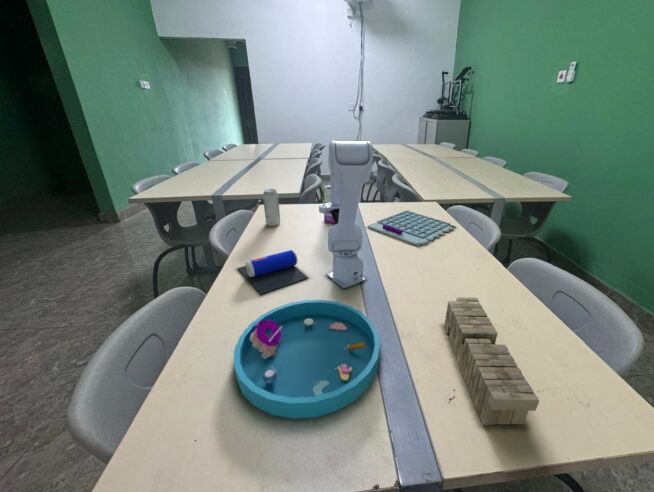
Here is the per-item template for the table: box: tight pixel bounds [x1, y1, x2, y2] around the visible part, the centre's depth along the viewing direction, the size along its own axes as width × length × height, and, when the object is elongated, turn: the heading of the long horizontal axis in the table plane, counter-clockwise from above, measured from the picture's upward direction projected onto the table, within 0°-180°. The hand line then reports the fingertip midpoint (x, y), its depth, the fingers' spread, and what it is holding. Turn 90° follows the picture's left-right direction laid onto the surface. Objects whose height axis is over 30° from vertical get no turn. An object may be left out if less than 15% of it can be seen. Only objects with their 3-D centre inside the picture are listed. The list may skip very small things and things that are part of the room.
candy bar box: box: [322, 184, 335, 225], centre depth 138 cm, size 11×5×16 cm, turn 73°
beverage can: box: [245, 249, 299, 277], centre depth 99 cm, size 5×5×15 cm
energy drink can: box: [262, 188, 281, 227], centre depth 134 cm, size 6×6×15 cm
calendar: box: [367, 210, 457, 248], centre depth 138 cm, size 27×29×2 cm
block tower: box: [443, 296, 540, 426], centre depth 66 cm, size 8×8×29 cm
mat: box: [237, 265, 309, 296], centre depth 99 cm, size 18×15×1 cm
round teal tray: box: [233, 299, 381, 420], centre depth 68 cm, size 30×30×6 cm
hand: (339, 228), depth 108 cm, fingers closed
